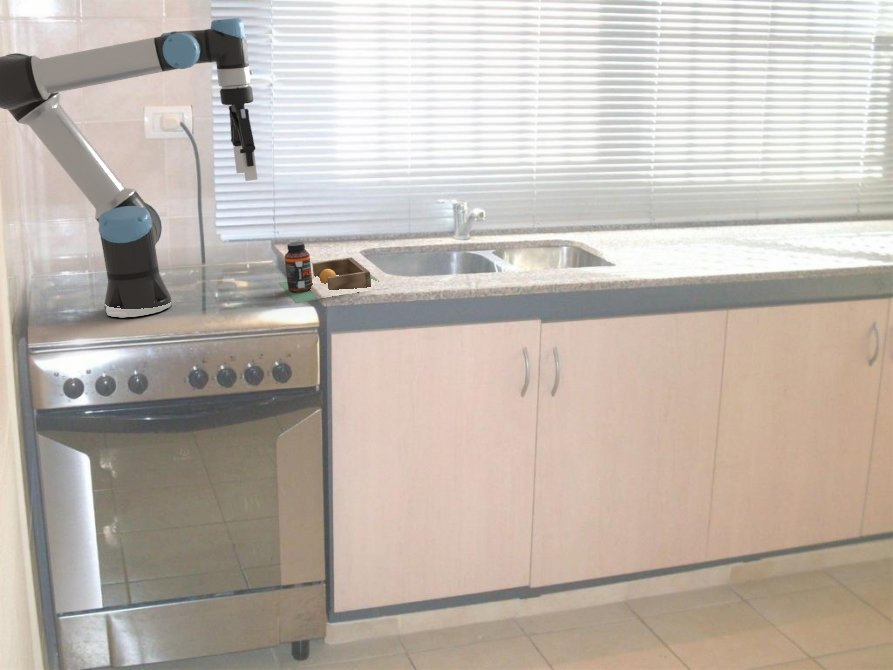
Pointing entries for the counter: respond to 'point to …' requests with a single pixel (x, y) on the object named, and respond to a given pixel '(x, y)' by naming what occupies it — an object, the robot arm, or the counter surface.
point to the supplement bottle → (298, 268)
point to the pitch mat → (305, 293)
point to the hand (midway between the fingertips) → (246, 176)
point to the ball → (326, 275)
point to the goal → (344, 274)
